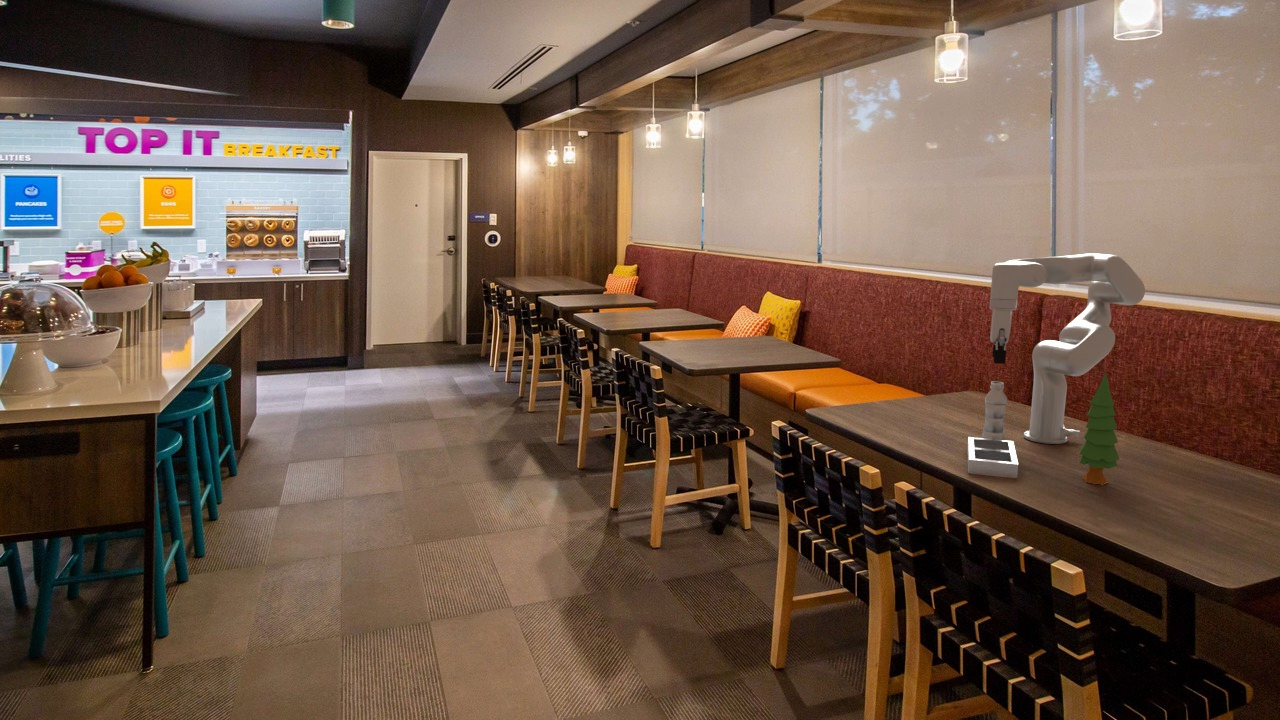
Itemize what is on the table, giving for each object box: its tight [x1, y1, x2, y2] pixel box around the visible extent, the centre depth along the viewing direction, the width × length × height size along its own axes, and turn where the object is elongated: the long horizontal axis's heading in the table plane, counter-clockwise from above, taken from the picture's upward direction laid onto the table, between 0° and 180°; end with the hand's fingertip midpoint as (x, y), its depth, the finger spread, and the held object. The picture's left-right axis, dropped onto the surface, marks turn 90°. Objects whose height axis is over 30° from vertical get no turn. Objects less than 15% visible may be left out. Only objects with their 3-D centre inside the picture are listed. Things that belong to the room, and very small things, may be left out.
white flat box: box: [966, 436, 1019, 479], centre depth 241 cm, size 12×24×4 cm, turn 160°
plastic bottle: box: [981, 381, 1008, 440], centre depth 256 cm, size 6×7×20 cm
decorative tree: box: [1079, 371, 1120, 485], centre depth 222 cm, size 10×9×30 cm
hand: (998, 360), depth 253 cm, fingers open, 9 cm apart
